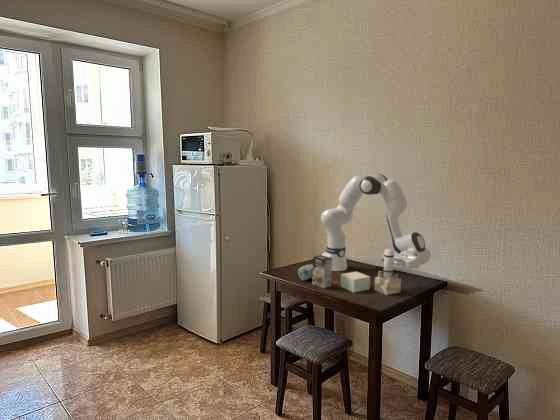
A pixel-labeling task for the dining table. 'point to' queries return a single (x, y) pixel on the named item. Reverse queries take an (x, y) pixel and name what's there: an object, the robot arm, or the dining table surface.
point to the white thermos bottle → (388, 263)
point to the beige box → (355, 281)
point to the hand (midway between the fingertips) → (388, 261)
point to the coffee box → (322, 271)
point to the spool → (306, 272)
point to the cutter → (336, 283)
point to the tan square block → (387, 283)
